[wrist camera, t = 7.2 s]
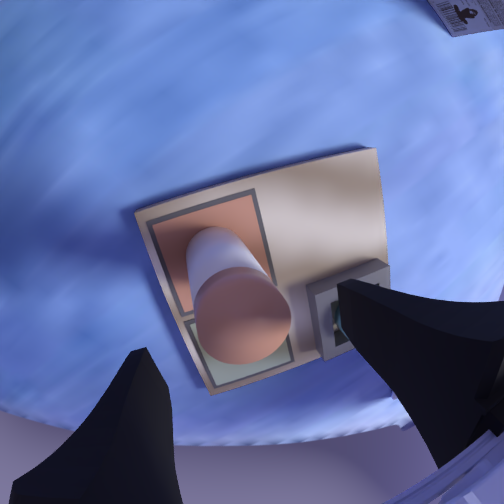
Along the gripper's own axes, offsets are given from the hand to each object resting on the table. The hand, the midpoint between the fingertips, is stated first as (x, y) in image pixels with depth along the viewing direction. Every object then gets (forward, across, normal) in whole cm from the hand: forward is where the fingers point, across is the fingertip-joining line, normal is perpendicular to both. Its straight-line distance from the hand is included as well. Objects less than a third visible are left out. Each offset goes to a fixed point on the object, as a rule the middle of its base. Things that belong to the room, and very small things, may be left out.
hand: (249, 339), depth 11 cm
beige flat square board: (+10, -4, +3) cm, 11 cm away
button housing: (+9, -8, +7) cm, 14 cm away
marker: (+9, 0, 0) cm, 9 cm away
